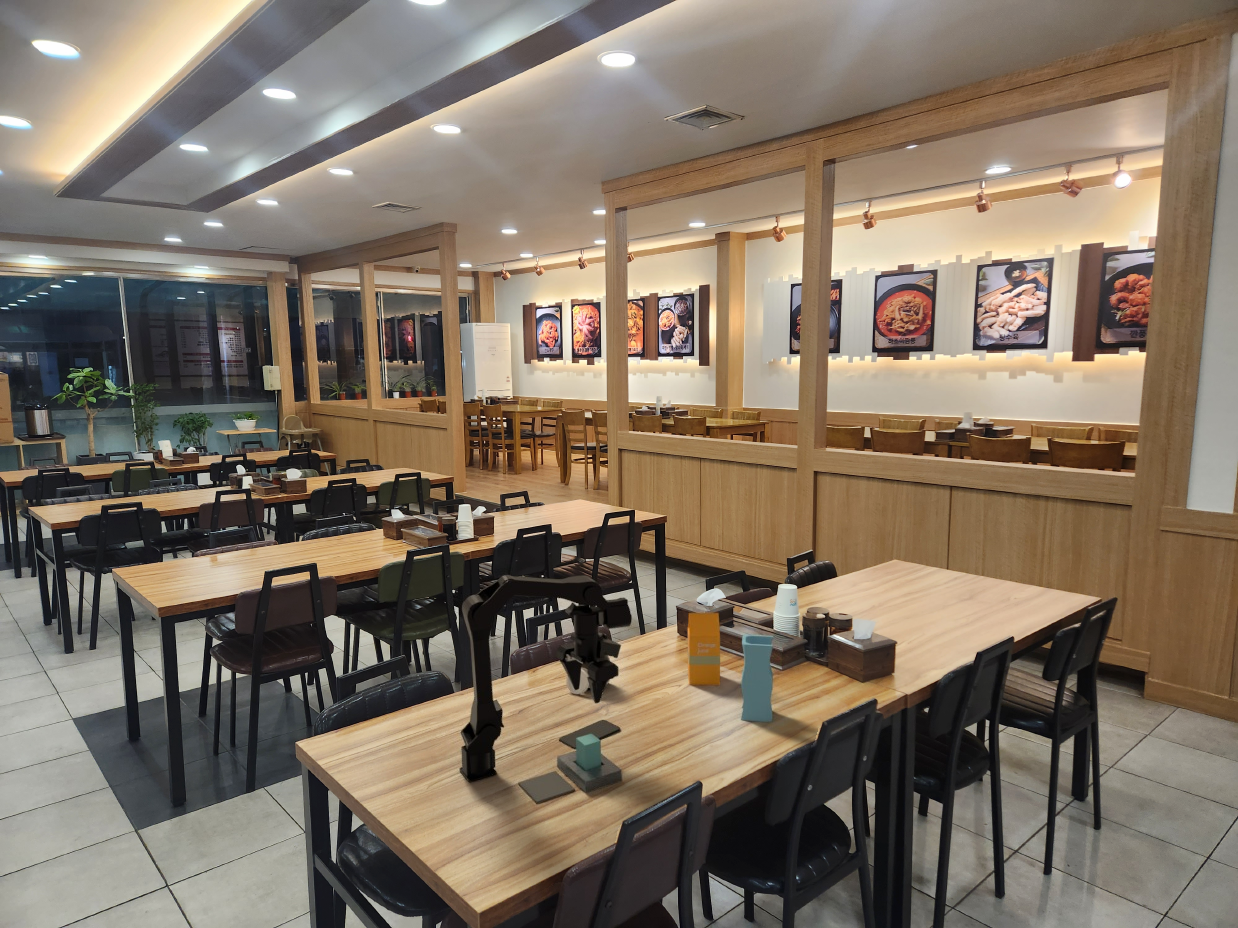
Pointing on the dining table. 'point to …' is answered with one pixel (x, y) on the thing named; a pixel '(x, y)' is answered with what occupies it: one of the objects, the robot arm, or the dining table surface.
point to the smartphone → (591, 732)
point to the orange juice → (703, 649)
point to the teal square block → (588, 752)
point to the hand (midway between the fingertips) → (586, 695)
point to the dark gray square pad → (546, 787)
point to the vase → (757, 678)
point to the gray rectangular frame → (589, 772)
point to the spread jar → (583, 679)
